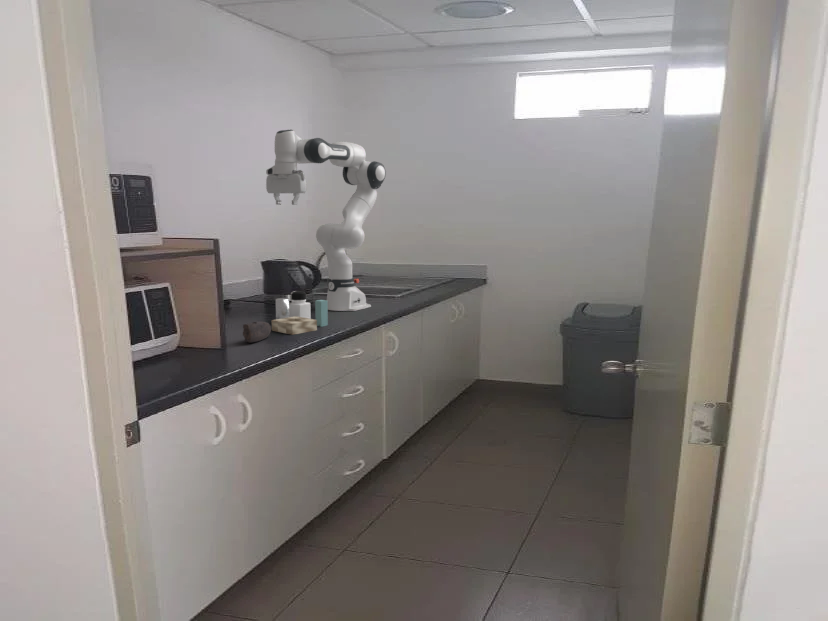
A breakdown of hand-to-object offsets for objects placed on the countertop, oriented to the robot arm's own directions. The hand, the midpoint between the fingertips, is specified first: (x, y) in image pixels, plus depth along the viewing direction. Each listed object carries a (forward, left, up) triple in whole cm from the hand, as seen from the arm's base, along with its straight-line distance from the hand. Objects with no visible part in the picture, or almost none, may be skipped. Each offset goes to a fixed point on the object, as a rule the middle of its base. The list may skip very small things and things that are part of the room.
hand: (286, 204), depth 260 cm
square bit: (+2, +23, -47) cm, 53 cm away
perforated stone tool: (+37, +28, -48) cm, 66 cm away
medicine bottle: (0, +7, -48) cm, 48 cm away
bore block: (+16, +23, -47) cm, 55 cm away
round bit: (+10, +9, -47) cm, 49 cm away
